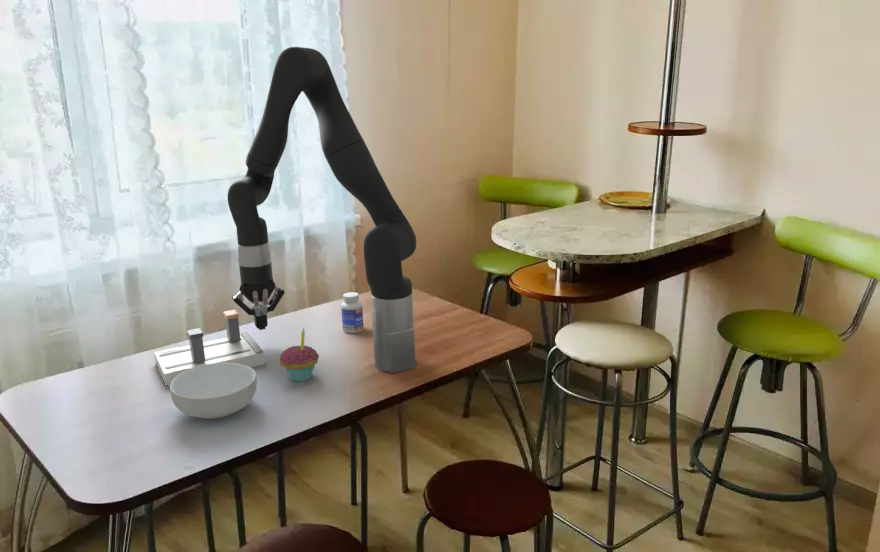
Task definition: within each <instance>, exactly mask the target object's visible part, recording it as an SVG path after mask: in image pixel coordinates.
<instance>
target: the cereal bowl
mask: <svg viewBox="0 0 880 552" xmlns="http://www.w3.org/2000/svg"><path fill="white" fill-rule="evenodd" d="M257 381H258V379H257V372H256V370H255V369H253V367H251V368H250V367H249V366H246V365H243V364H238V363H212V364H206V365H201V366H197V367H194V368H191V369H189V370H186V371H184V372H182V373H181V374H179V375H177V376H176V377H175V378H174V379H173V380H172V381H171V383H170V386H169V393H170V398H171V400H172V404H174V406H175V407H176V408H177V410H179V411H180V412H181V413H183V414H185V415H187V416H189V417H194V418H199V419H206V420H215V419H216V420H217V419H222V418H224V417H228V416H230V415H232V414H233V413H236V412H238V411H239V410H242V409H244V408H245V407H246V406H247V405H248V404H249V403H250V402H251V401H252V399H253V398H254V397H255V395H256V391H257V384H258V383H257Z"/></svg>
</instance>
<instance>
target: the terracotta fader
mask: <svg viewBox="0 0 880 552" xmlns="http://www.w3.org/2000/svg"><path fill="white" fill-rule="evenodd" d="M223 316H224V319H225V327H226V329H225V330H226V335H227V336H226V337H227V338H228V340H229V341H230V342H235V341H240V340H241V339H240V335H241V333H240V323H239V318H240V315H239V312H238V311H237V310H236V309H230V310H225V311H223Z"/></svg>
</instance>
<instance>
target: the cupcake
mask: <svg viewBox="0 0 880 552" xmlns="http://www.w3.org/2000/svg"><path fill="white" fill-rule="evenodd" d="M305 333H306V332H305V328H303V329H302V331H301V335H300V336H301V339H300V345H293V346H288V348H286V349H285V350H283V352H282V353H281V354H280V356H279V360H278V361H279V362H278V363H279V365H280V366H281V367H283V368H285V369H286V371H287V374H288V375H289V378H290V380H292V381H295V382H303V381H307V380H309V379H311V378H312V377H313V371H314V369H315V366H316V364H318V362H319V357H320V356H319V354H318V352H317V351H316V349H315V348H312V347H311V346H309V345H306V344H305Z"/></svg>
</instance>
